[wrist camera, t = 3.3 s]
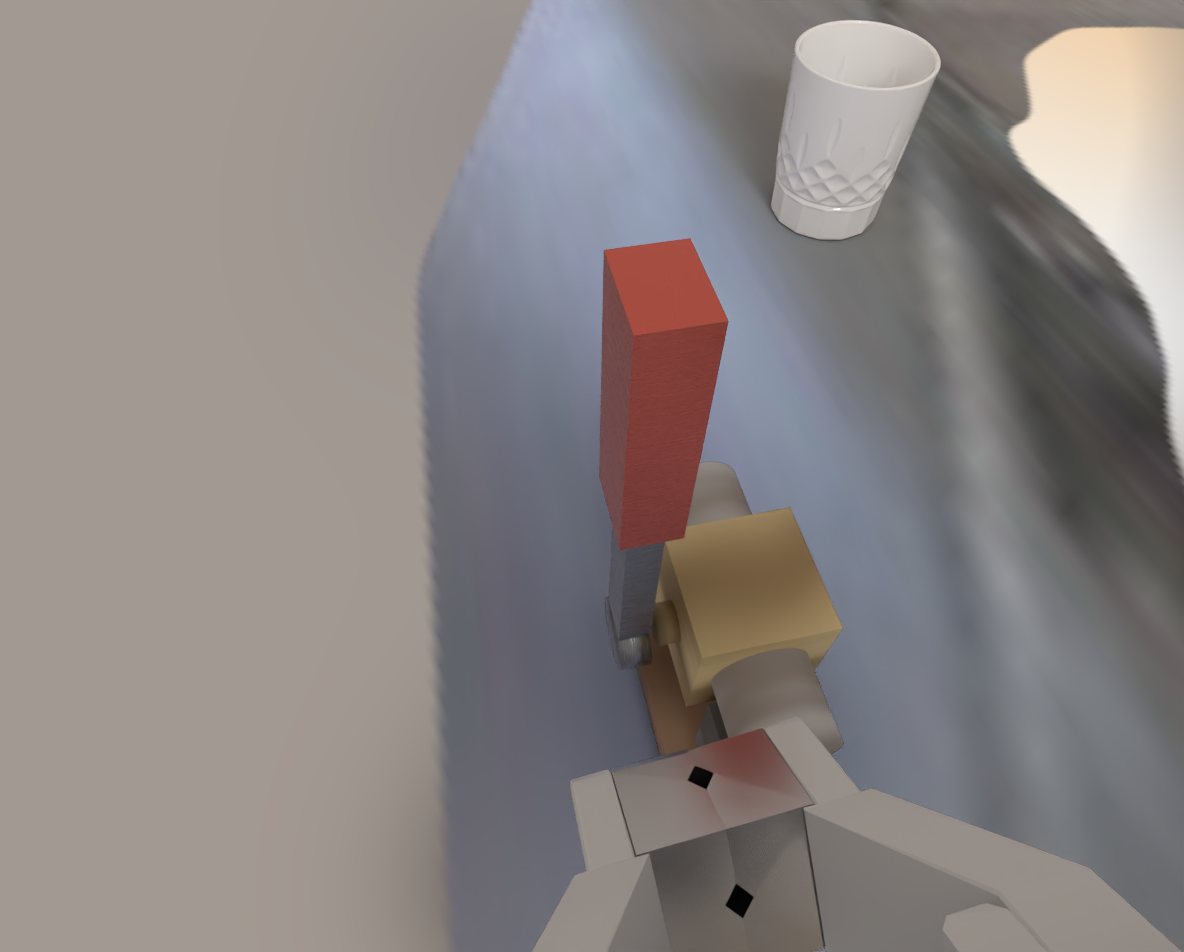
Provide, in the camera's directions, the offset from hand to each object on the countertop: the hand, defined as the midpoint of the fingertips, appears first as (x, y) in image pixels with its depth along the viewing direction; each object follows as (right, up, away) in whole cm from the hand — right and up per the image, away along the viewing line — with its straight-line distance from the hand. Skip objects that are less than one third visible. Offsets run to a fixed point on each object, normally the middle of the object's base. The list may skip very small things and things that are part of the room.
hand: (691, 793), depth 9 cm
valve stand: (+4, -4, +21) cm, 22 cm away
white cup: (+14, +22, +40) cm, 48 cm away
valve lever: (0, -2, +16) cm, 16 cm away
